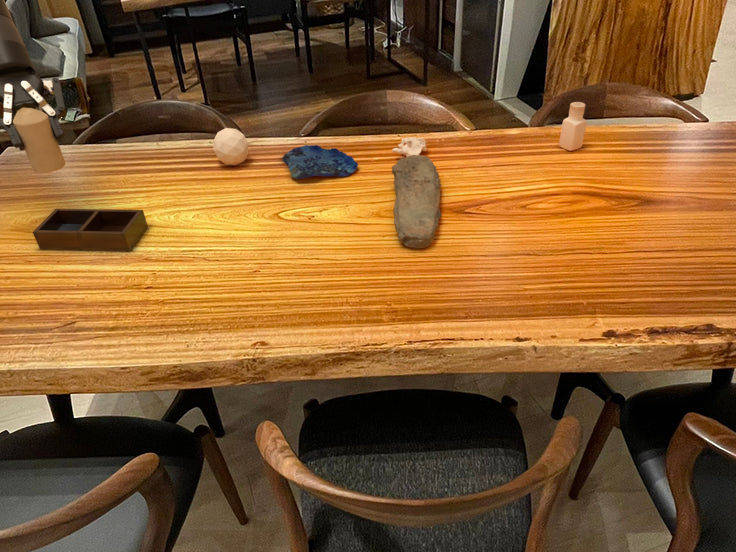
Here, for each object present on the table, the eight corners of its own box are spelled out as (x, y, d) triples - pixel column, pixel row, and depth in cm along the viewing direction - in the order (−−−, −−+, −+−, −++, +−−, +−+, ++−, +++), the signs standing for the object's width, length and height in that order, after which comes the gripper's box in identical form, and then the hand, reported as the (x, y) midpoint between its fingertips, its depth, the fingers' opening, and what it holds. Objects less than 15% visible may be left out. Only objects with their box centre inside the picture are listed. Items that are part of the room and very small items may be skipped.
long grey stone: (387, 256, 111) (442, 259, 111) (388, 231, 108) (445, 233, 108) (392, 164, 136) (437, 166, 136) (393, 141, 132) (440, 143, 132)
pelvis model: (402, 130, 142) (430, 131, 140) (404, 148, 145) (431, 149, 143) (390, 143, 137) (419, 144, 134) (392, 162, 139) (420, 163, 137)
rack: (39, 249, 115) (32, 232, 112) (62, 225, 121) (55, 208, 119) (130, 251, 113) (124, 233, 111) (148, 226, 120) (143, 209, 117)
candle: (72, 163, 112) (51, 105, 105) (49, 175, 108) (25, 117, 101) (49, 158, 113) (27, 102, 107) (26, 170, 110) (1, 113, 103)
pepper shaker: (569, 142, 144) (577, 99, 137) (582, 147, 141) (591, 104, 135) (557, 146, 142) (564, 103, 136) (570, 152, 140) (578, 108, 133)
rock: (295, 185, 131) (294, 176, 129) (277, 156, 143) (276, 147, 142) (361, 174, 134) (361, 166, 133) (338, 147, 146) (337, 138, 145)
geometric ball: (242, 176, 142) (243, 157, 134) (208, 164, 140) (207, 144, 133) (253, 149, 144) (254, 128, 136) (219, 136, 142) (218, 115, 135)
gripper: (-51, 46, 100) (-10, 143, 100) (43, 31, 105) (81, 124, 105) (-38, 72, 107) (0, 164, 107) (50, 57, 112) (86, 145, 112)
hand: (40, 144), depth 106 cm, fingers closed on candle, 5 cm apart
